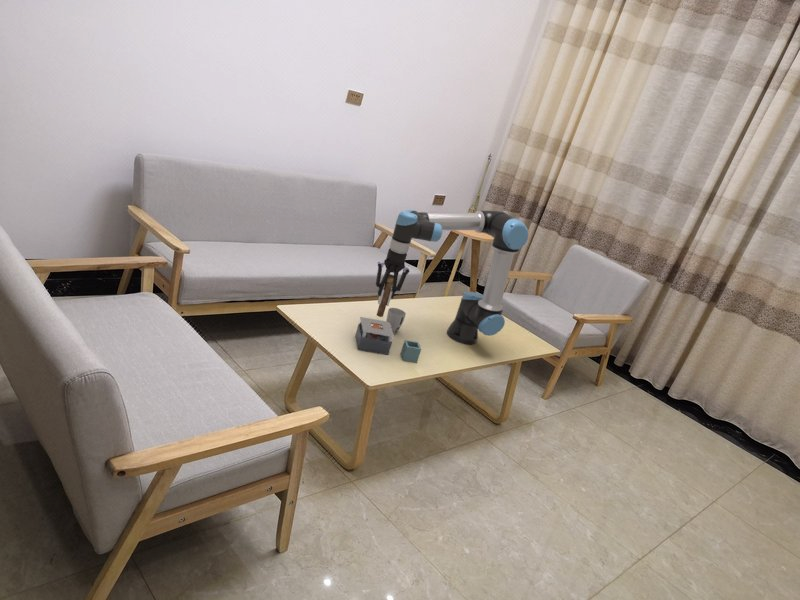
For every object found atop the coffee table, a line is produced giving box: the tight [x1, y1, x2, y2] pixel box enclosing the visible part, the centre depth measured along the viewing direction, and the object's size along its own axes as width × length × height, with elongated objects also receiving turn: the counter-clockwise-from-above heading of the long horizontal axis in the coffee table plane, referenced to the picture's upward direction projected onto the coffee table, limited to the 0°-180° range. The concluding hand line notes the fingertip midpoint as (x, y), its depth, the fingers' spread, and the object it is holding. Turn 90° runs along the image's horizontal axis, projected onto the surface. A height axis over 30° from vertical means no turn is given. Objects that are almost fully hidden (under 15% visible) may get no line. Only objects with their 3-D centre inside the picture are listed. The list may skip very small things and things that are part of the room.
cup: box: [385, 307, 407, 335], centre depth 246 cm, size 8×8×10 cm
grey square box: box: [354, 316, 395, 356], centre depth 227 cm, size 13×13×9 cm
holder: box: [400, 339, 422, 364], centre depth 226 cm, size 6×6×7 cm
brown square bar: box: [376, 273, 394, 318], centre depth 221 cm, size 3×3×18 cm
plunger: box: [370, 324, 382, 336], centre depth 226 cm, size 4×4×4 cm
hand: (383, 303), depth 222 cm, fingers closed on brown square bar, 3 cm apart
